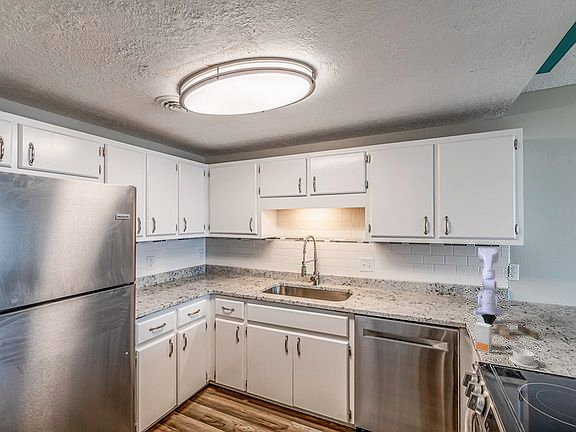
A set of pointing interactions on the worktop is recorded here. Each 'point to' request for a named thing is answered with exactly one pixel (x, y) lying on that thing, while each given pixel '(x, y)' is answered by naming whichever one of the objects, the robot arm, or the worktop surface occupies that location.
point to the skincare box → (483, 337)
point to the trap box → (521, 333)
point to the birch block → (502, 329)
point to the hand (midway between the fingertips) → (488, 328)
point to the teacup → (523, 358)
